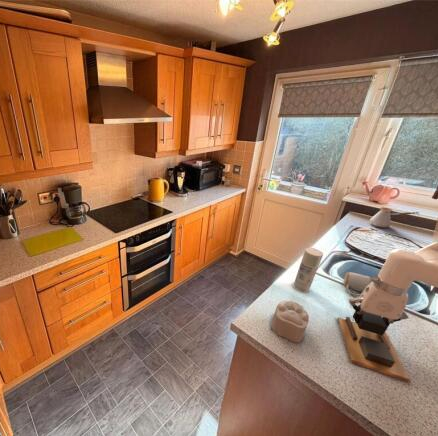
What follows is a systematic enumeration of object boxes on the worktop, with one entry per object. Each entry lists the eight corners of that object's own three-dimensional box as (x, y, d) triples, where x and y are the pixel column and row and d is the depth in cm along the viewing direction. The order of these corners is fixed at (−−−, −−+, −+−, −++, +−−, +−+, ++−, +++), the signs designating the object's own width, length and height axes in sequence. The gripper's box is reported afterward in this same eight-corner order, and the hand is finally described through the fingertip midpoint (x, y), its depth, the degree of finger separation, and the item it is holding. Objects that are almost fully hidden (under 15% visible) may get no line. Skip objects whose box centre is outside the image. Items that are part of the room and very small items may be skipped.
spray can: (312, 289, 107) (326, 253, 98) (304, 294, 104) (318, 257, 95) (297, 281, 112) (309, 246, 103) (290, 286, 109) (302, 250, 100)
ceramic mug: (341, 280, 112) (347, 267, 109) (363, 287, 108) (370, 274, 105) (342, 292, 105) (348, 279, 101) (366, 300, 100) (373, 287, 97)
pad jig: (383, 333, 86) (388, 325, 84) (408, 381, 70) (415, 373, 68) (337, 319, 91) (341, 311, 89) (351, 362, 76) (355, 353, 74)
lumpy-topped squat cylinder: (269, 330, 86) (274, 313, 83) (275, 308, 96) (280, 292, 92) (301, 345, 81) (309, 328, 77) (304, 320, 91) (311, 304, 87)
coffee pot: (367, 225, 168) (375, 206, 161) (369, 220, 175) (377, 202, 168) (409, 235, 154) (420, 215, 147) (409, 230, 161) (420, 210, 154)
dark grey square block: (375, 321, 85) (380, 313, 83) (382, 335, 79) (387, 327, 78) (353, 315, 87) (357, 307, 85) (358, 328, 82) (363, 320, 80)
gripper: (361, 284, 76) (341, 322, 83) (434, 302, 69) (405, 342, 76) (354, 271, 82) (336, 308, 89) (420, 286, 75) (395, 325, 83)
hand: (368, 323), depth 83 cm, fingers closed on dark grey square block, 6 cm apart
